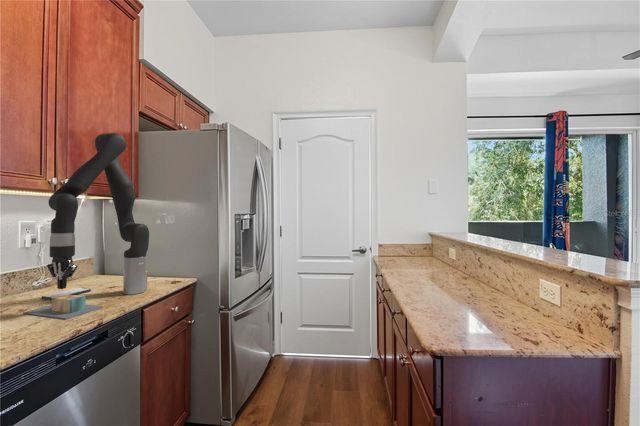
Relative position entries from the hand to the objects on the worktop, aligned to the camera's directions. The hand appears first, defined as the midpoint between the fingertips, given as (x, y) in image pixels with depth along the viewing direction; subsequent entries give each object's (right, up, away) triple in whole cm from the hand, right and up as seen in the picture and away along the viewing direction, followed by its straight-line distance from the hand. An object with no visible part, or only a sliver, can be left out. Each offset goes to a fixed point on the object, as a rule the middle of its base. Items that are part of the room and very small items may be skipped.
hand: (61, 288), depth 116 cm
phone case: (-16, -9, +21) cm, 28 cm away
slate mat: (+1, -9, 0) cm, 9 cm away
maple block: (-1, -5, 0) cm, 6 cm away
